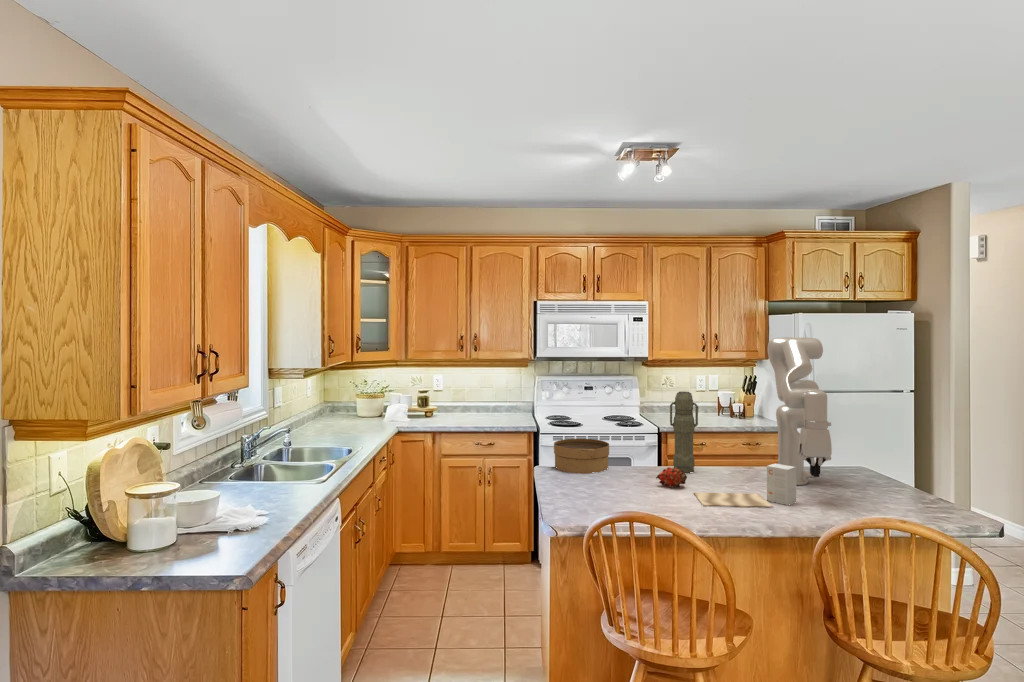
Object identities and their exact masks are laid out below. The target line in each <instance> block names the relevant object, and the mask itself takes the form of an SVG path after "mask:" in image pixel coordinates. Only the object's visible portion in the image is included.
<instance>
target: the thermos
mask: <svg viewBox="0 0 1024 682" xmlns="http://www.w3.org/2000/svg"><path fill="white" fill-rule="evenodd" d="M673 406H674V410H675V412H674V417H673ZM694 407H695V417H694V413H693V412H694ZM669 425H670V426H672V427H673V433H674V453H673V454H674V455H673V458H672V459H673V463H672V464H673V468H674V469H675V467H677V468H678V469H680V470H683V472H684V473H689V474H691V473H690V472H695V456H694V434H695V428H696V427H697V426H698V425H699V406H698V404H697V403H696V402H694V399H693V395H692V392H690V391H678V392H677V393H675V397H674V402H673V401H672V402H671V403H670V405H669Z"/></svg>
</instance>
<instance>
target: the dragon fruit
mask: <svg viewBox="0 0 1024 682" xmlns="http://www.w3.org/2000/svg"><path fill="white" fill-rule="evenodd" d="M687 478H688V476H687V474H685V473H684V472H683V470H680V469H678V468H677V467H675V469H674V467H669V466H668V467H667V468H665V469H663V470H662V472H660V473H659V474H657V476H656V477H655V479H658V480H659V481H658V483H659V484H661V486H664V487H667V486H668V487H669V488H670V489H673V488H674V487H675V488H680V485H685V484H686V480H687Z"/></svg>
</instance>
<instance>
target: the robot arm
mask: <svg viewBox="0 0 1024 682" xmlns="http://www.w3.org/2000/svg"><path fill="white" fill-rule="evenodd" d="M823 353H824V347H823V343H822V342H821V340H820V339H818V338H815V337H808V336H807V337H801V336H800V337H799V336H798V337H795V336H794V337H792V336H791V337H789V336H788V337H787V336H785V337H784V336H783V337H775V338H772V339H771V340H769V341H768V343H767V356H768V357H767V358H768V359H769V363H770V365H771V366H772V368H773V371H774V377H775V378H774V379H775V385H776V394H777V398H778V399H779V400H778V401H780V402H783V403H784V404H783V405H779V406H778V407H777V408H776V411H775V418H776V424H777V435H778V439H777V442H778V444H777V446H778V448H777V449H778V451H777V452H778V454H777V455H778V457H777V459H778V460H777V461H778V463H777V464H781V465H787V466H793V467H796V486H803V485H808V483H809V481H808V479H817V478H820V475H821V467H822V465H823V464H824V463H825V462H827V461H831V460H832V452H833V450H832V449H833V448H832V439H831V433H830V430H829V429H828V428H829V427H831V426H832V422H831V421H830V422H829V421H828V394H827V392H825V391H823V390H822V389H820V387H819V385H818V383H817V382H815V381H814V380H811V379H804V378H806V377H808V376H809V375H810V374H811V373H812V371H813V365H812V363H811V360H818V359H821V358H822V357H823ZM798 429H800V432H799V431H798ZM804 461H805V462H807V463H808V464H809V472H807V471H805V470H804V466H805V462H804Z"/></svg>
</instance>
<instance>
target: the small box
mask: <svg viewBox="0 0 1024 682" xmlns="http://www.w3.org/2000/svg"><path fill="white" fill-rule="evenodd" d="M766 500H767V501H768V502H770V501H771V503H774V502H776V503H775V504H779V503H780V505H783V504H786V505H785V506H790V505H789V504H791V505H793V504H792V503H794V504H796V503H797V485H796V467H793V466H787V465H781V464H778V463H772V464H769V465H766ZM795 502H796V503H795Z"/></svg>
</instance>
